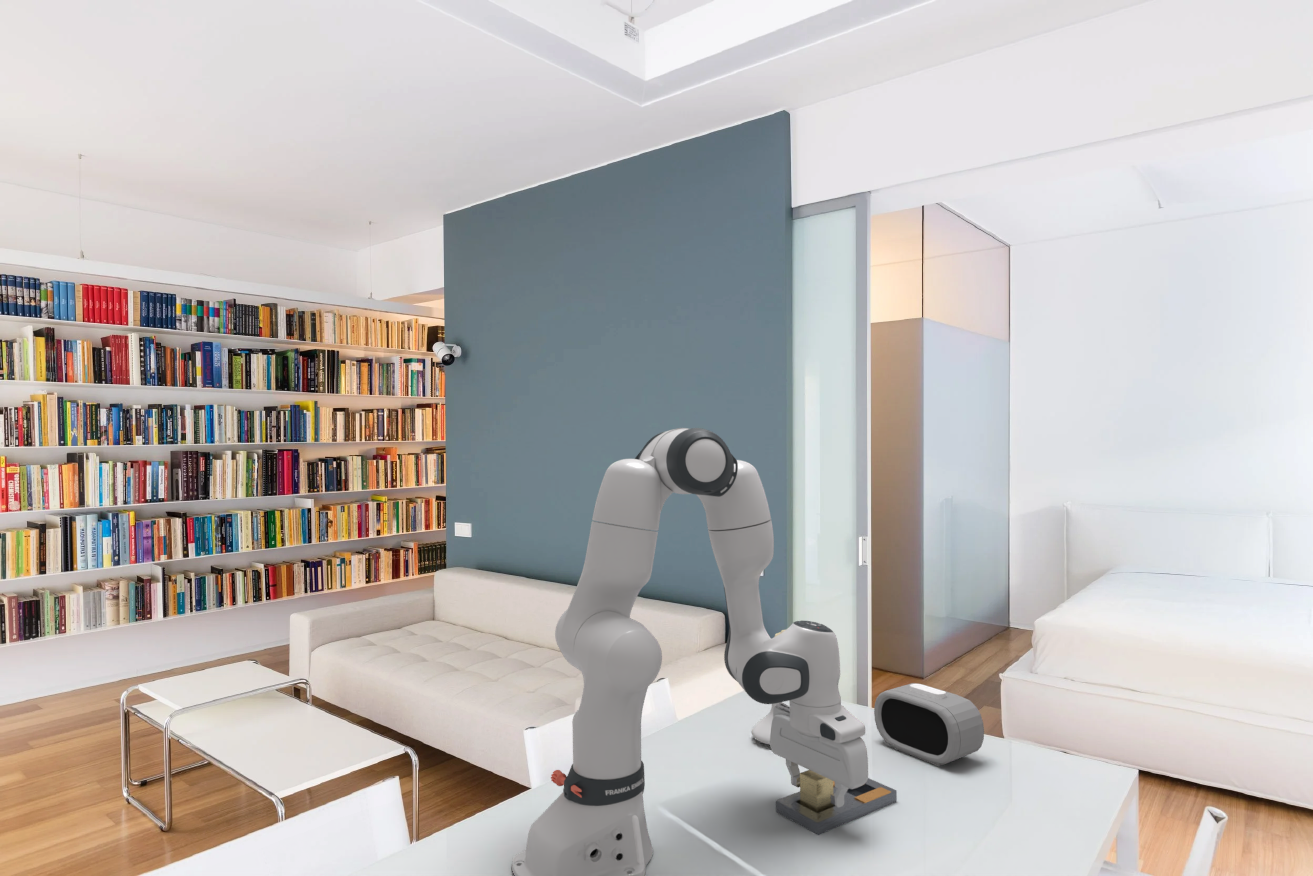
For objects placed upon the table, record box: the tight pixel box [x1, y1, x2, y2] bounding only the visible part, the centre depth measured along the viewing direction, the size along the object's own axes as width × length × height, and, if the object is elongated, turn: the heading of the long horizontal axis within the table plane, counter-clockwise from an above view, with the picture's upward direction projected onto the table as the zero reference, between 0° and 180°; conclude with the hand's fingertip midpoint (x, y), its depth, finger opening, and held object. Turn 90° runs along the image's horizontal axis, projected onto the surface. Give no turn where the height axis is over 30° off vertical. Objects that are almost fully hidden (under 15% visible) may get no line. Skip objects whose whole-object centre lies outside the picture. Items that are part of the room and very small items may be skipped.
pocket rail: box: [775, 777, 898, 836], centre depth 137 cm, size 20×10×3 cm, turn 124°
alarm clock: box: [873, 682, 985, 767], centre depth 163 cm, size 21×10×13 cm, turn 33°
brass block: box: [799, 769, 834, 813], centre depth 135 cm, size 4×4×7 cm
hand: (816, 795), depth 135 cm, fingers open, 8 cm apart
